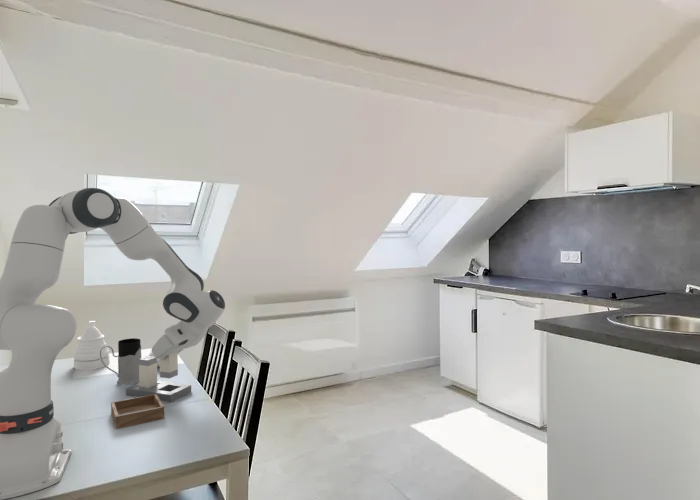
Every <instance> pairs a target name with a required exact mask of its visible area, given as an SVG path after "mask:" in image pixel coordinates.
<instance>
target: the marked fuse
mask: <svg viewBox="0 0 700 500" xmlns="http://www.w3.org/2000/svg"><path fill="white" fill-rule="evenodd" d="M178 355H179V353H178V352H175V353H172V354H169V355H167V358H166V359H165V360H162V361H161V360H160V367H159V378H161V379H162V378H164V379H172V378H174V377H176V376H178V375H179V374H178V373H179V368H178V367H179V366H178V365H179V363H178V359H179V358H178Z"/></svg>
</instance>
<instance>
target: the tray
mask: <svg viewBox="0 0 700 500" xmlns="http://www.w3.org/2000/svg"><path fill="white" fill-rule="evenodd" d="M110 412H111V413H110V414H111V417H112V420H113V424H114V427H115V429H116V430H117V429H118V430H119V429H123V428H127V427H132V426H136V425H141V424H145V423H149V422H154V421H159V420H164V419H166V418H165V406H164V404H163V401H160V399H159V397H158V396H157V394H152V395H146V396H141V397H132V398H125V399H121V400H115V401H110Z"/></svg>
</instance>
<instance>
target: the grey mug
mask: <svg viewBox="0 0 700 500" xmlns="http://www.w3.org/2000/svg"><path fill="white" fill-rule="evenodd" d="M105 347H107V348H108V349H111V352H112V356H113V357H114V358H117V367H118V368H117V369H118V372H116V371H115V370H114V369H112V368H110V367H109V366H108V365H107V366H106V365H105V363H104V362H103V360H102V357H101V350H102V349H103V348H105ZM105 347H103V348H101V350H100V359H101V361H102V363H103V365H104V367H105V368H106V369H108V370H110V371H111V372H113V373H114V374H116V376H117V378H118V379H117V381H116V383H117V384H119V385H134V384H137V383H139V359H141V358H142V345H141V339H140V338H135V337H133V338H125V339H121V340H118V343H117V350H118V351H117V352H118V354H117V355H116V354H115V353H114V352H115V351H114V348H113V347H112V346H110V345H106V346H105Z"/></svg>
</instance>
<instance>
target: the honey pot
mask: <svg viewBox="0 0 700 500" xmlns="http://www.w3.org/2000/svg"><path fill="white" fill-rule="evenodd" d="M96 321H97V320H89V321H88V326H87V327H86V328H85V329H84V330H83V332H82V333H81V336H78V337H77V338H76V341H77V342H78V343H77V345H76V349H75V352H74V354H73V368H74V369H75V370H78V371H87V370H95V369H96V370H97V369H100V368H104V367H105V366H104V365H103V363H102V361H101V359H100V350H101V348H103V347H105V346H107V343H106V341H105V339H104V338H105V335H104V334H103V333H102V332H101V331H100V330H99V329H98V328H97V327H96V326H95V325H96ZM101 357H102V360H103V362H104V363H105V365H106V366H107V367H108V366H109V365H110V363H111V362H110V350H109V347H105V348H103V349H102V350H101Z"/></svg>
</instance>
